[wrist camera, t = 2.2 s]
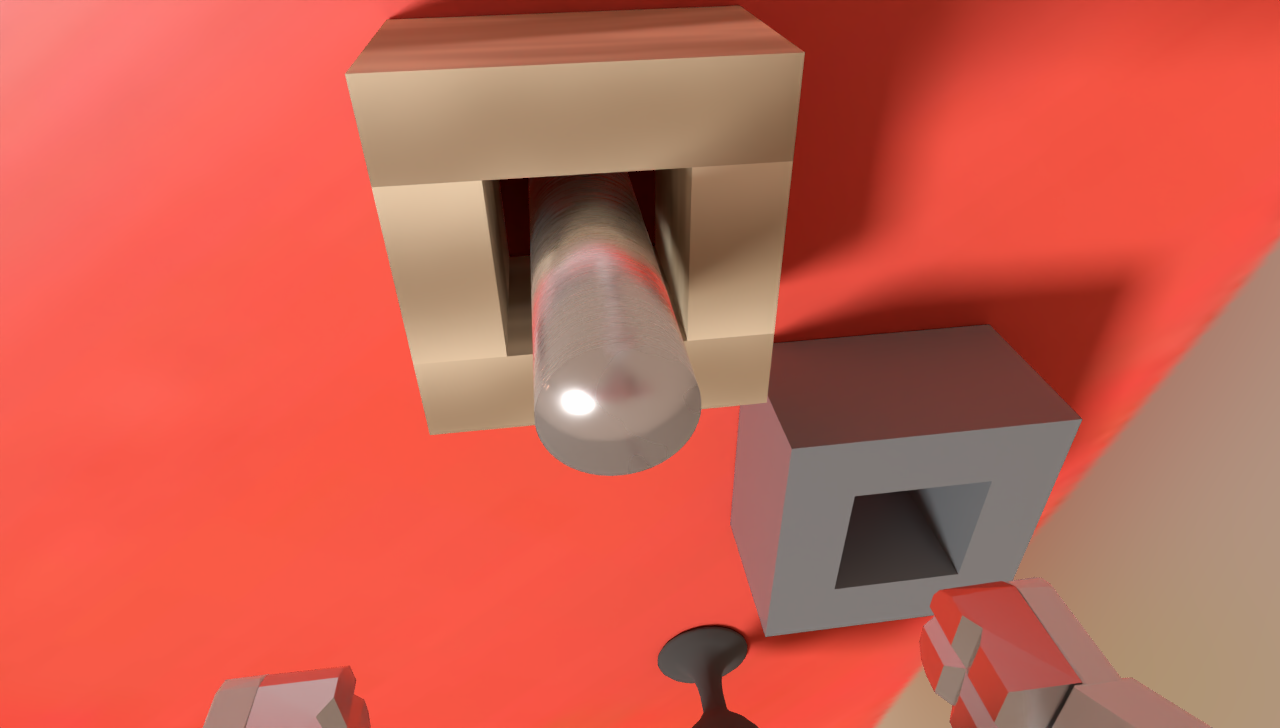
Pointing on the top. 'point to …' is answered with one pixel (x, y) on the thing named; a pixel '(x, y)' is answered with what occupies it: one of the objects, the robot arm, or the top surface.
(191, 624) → the top surface
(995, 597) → the robot arm
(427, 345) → the mount block
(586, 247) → the pin
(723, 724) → the sundae
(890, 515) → the dock block
